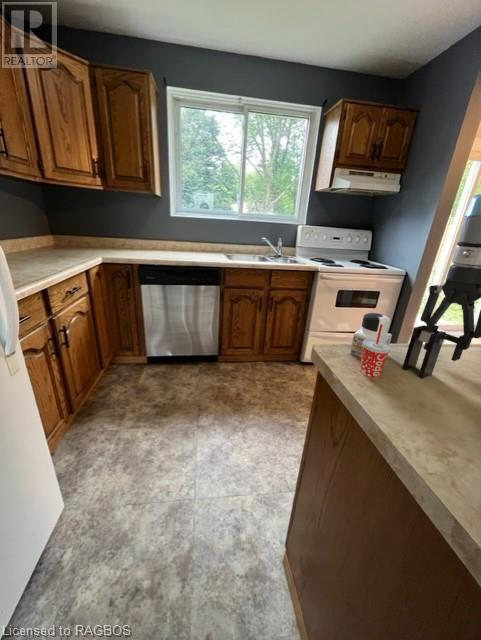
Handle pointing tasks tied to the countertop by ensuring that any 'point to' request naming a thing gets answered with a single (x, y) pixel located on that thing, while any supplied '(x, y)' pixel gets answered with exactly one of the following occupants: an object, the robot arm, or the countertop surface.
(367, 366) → the beverage cup
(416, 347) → the bracket
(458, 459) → the countertop surface
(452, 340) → the lever
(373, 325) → the container
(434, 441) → the countertop surface
